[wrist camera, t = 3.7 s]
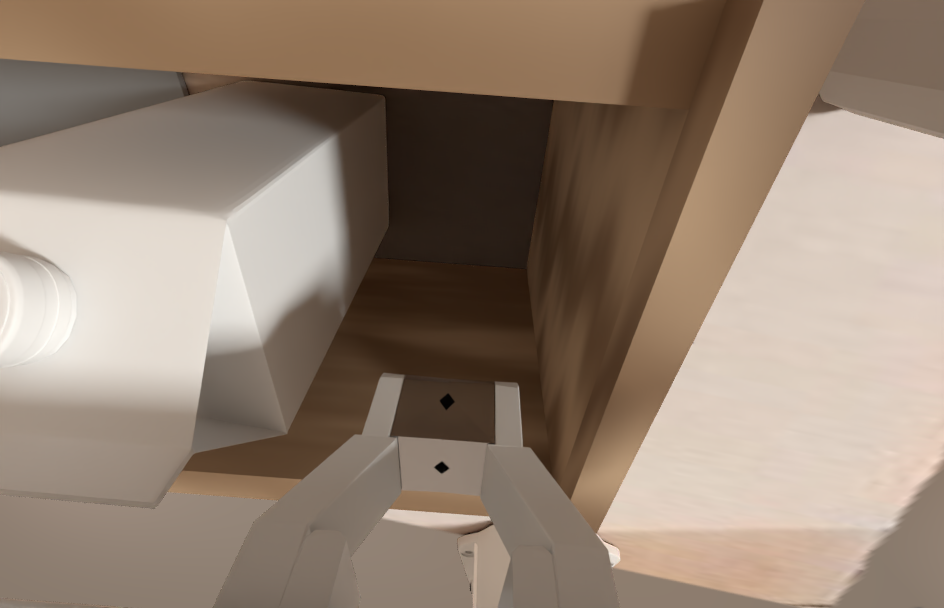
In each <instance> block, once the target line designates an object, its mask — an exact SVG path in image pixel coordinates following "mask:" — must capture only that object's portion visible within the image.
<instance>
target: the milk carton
mask: <svg viewBox="0 0 944 608" xmlns="http://www.w3.org/2000/svg"><path fill="white" fill-rule="evenodd" d="M388 227H389V205H388V174H387V143H386V112H385V97H384V96H382V95H378V94H370V93H361V92H352V91H342V90H333V89H324V88H315V87H305V86H296V85H287V84H278V83H268V82H259V81H240V82H237V83H233V84H229V85H226V86H222V87H218V88H215V89H211V90H207V91H204V92H200V93H196V94H193V95H189V96H185V97H182V98H178V99H174V100H171V101H167V102H163V103H160V104H156V105H152V106H149V107H145V108H141V109H138V110H134V111H130V112H127V113H123V114H119V115H116V116H112V117H108V118H105V119H101V120H97V121H94V122H90V123H86V124H83V125H79V126H75V127H72V128H68V129H64V130H61V131H57V132H53V133H50V134H46V135H42V136H39V137H35V138H31V139H28V140H24V141H20V142H17V143H13V144H9V145H5V146H2V147H0V495H7V496H18V497H29V498H40V499H51V500H62V501H73V502H84V503H95V504H107V505H118V506H129V507H140V508H151V509H155V507H157V506H158V505H159V503H160V502H161V501H162V499H163V498H164V496H165V495H166V493H167V492H168V490H169V489H170V487H171V486H172V484H173V483H174V482H175V480H176V479H177V477H178V476H179V474H180V473H181V471H182V470H183V468H184V467H185V465H186V464H187V462H188V461H189V459H190V458H191V457H192V455H193V454H195V453H198V452H203V451H208V450H213V449H218V448H222V447H227V446H232V445H237V444H242V443H247V442H252V441H256V440H261V439H266V438H271V437H276V436H281V435H285V434H287V432H288V430H289V428H290V426H291V424H292V422H293V420H294V418H295V416H296V414H297V412H298V410H299V408H300V405H301V403H302V401H303V399H304V397H305V395H306V393H307V391H308V389H309V387H310V385H311V383H312V381H313V379H314V377H315V375H316V373H317V371H318V369H319V367H320V365H321V363H322V361H323V359H324V357H325V355H326V353H327V351H328V349H329V347H330V345H331V343H332V341H333V339H334V336H335V334H336V332H337V330H338V328H339V326H340V324H341V322H342V320H343V318H344V316H345V314H346V312H347V310H348V308H349V306H350V304H351V302H352V300H353V298H354V296H355V294H356V292H357V290H358V288H359V286H360V284H361V282H362V280H363V278H364V276H365V274H366V272H367V270H368V267H369V265H370V263H371V261H372V259H373V257H374V255H375V253H376V251H377V249H378V247H379V245H380V243H381V241H382V239H383V237H384V235H385V233H386V231H387V229H388Z"/></svg>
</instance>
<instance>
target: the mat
mask: <svg viewBox="0 0 944 608" xmlns="http://www.w3.org/2000/svg"><path fill="white" fill-rule="evenodd" d="M185 96H189V94H188V91H187V88H186V85H185V81H184V78H183V75H182V72H174V71H160V70H147V69H134V68H120V67H107V66H93V65H80V64H67V63H53V62H40V61H27V60H13V59H0V147H2V146H5V145H9V144H13V143H17V142H20V141H24V140H28V139H31V138H35V137H39V136H42V135H46V134H50V133H53V132H57V131H61V130H64V129H68V128H72V127H75V126H79V125H83V124H86V123H90V122H94V121H97V120H101V119H105V118H108V117H112V116H116V115H119V114H123V113H127V112H130V111H134V110H138V109H141V108H145V107H149V106H152V105H156V104H160V103H163V102H167V101H171V100H174V99H178V98H182V97H185Z"/></svg>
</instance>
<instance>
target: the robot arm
mask: <svg viewBox="0 0 944 608" xmlns="http://www.w3.org/2000/svg"><path fill="white" fill-rule="evenodd" d="M401 490H407V491H428V492H445V493H455V494H464V495H474V496H480V499H481V501H482V503H483V505H484V507H485V509H486V511H487V512H488V514H489V516H490V518H491V520H492V522H493V524H494V525H492V526H490V527H488V528H486V529H484V530H483V531H480V532H478V533H473V534H468V535H464V536H461V537H459V538H458V539H457V546H458V552H459V555H460V557H461V561H462V563H463V566H464V569H465V572H466V575H467V578H468V581H469V584H470V591H471V594H473V608H620V604H619V600H618V596H617V590H616V586H615V581H614V576H613V572H612V567H614V566H615V565H616V564H617V563H618V562H619V561H620V553H619V549H618V548H616V547H614V546H612V545H610V544H608V543H606V542H604V541H603V540H602V539H601V538H600V537H599V536H598V535H597V533H595V532H594V531H593V529H592V528H591V527H590V525H589V524H588V523H587V522H586V520H585V519H584V518H583V516H582V515H581V514H580V512H579V511H578V510H577V508H576V507H575V506H574V504H573V503H572V502H571V501H570V499H569V498H568V497H567V495H566V494H565V493H564V491H563V490H562V489H561V487H560V486H559V485H558V483H557V482H556V481H555V480H554V478H553V477H552V476H551V474H550V473H549V472H548V470H547V469H546V468H545V466H544V465H543V464H542V462H541V461H540V460H539V459H538V457H537V456H536V455H535V453H534V452H533V451H532V449H531V448H529V447H523V438H522V424H521V409H520V395H519V386H518V384H517V383H512V382H497V381H495V382H494V381H483V380H467V379H452V378H450V379H446V378H436V377H426V376H416V375H402V374H392V373H383V374H382V375H381V377H380V379H379V382H378V385H377V388H376V391H375V394H374V398H373V401H372V404H371V407H370V410H369V414H368V417H367V420H366V423H365V426H364V429H363V433H362V435H356V434H355V435H353V436H352V437H351V438H350V439H349V440H348V441H347V442H345V443H344V444H343V445H342V446H341V447H340V448H338V449H337V450H336V451H335V452H334V453H333V454H332V455H330V456H329V457H328V458H327V459H326V460H325V461H323V462H322V463H321V464H320V465H319V466H318V467H316V468H315V469H314V470H313V471H312V472H311V473H310V474H308V475H307V476H306V477H305V478H304V479H303V480H301V481H300V482H299V483H298V484H297V485H296V486H295V487H293V488H292V489H291V490H290V491H289V492H288V493H286V494H285V495H284V496H283V497H282V498H281V499H279V500H278V501H277V502H276V503H275V504H274V505H273V506H271V507H270V508H269V509H268V510H267V511H266V512H264V513H263V514H262V515H261V516H260V517H259V518H258V519H256V520H255V521H254V522H253V524H252V527H251V528H250V530H249V533H248V535H247V537H246V539H245V541H244V543H243V545H242V547H241V549H240V552H239V554H238V556H237V558H236V560H235V562H234V564H233V566H232V568H231V570H230V572H229V575H228V576H227V579H226V581H225V583H224V585H223V587H222V589H221V591H220V594H219V595H218V597H217V599H216V602H215V604H214V606H213V608H359V604H360V599H361V596H360V592H359V588H358V584H357V580H356V576H355V572H354V568H353V564H352V560H351V556H352V555H353V554H354V552H355V551H356V550H357V549H358V547H359V546H360V545H361V543H362V542H363V541H364V540H365V538H366V537H367V536H368V535H369V533H370V532H371V531H372V529H373V528H374V527H375V526H376V524H377V523H378V522H379V521H380V519H381V518H382V517H383V516H384V514H385V513H386V512H387V510H388V509H389V508H390V507H391V505H392V504H393V503H394V502H395V500H396V499H397V498H398V497H399V495H400V494H401ZM0 608H128V607H114V606H101V605H88V604H75V603H62V602H47V601H35V600H34V601H33V600H22V599H8V598H0Z"/></svg>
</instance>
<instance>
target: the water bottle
mask: <svg viewBox="0 0 944 608" xmlns="http://www.w3.org/2000/svg"><path fill="white" fill-rule="evenodd" d="M819 94H820V97H821V99H822V101H824V102H826V103H829V104H831V105H834V106H837V107H839V108H842V109H844V110H847V111H849V112H852V113H854V114H857V115H861V116H865V117H868V118H872V119H875V120H879V121H882V122H886V123H889V124H893V125H897V126H900V127H904V128H907V129H911V130H914V131H918V132H921V133H925V134H929V135H932V136H936V137H939V138H943V139H944V0H865V2H864V4H863V6H862V8H861V10H860V12H859V14H858V16H857V18H856V20H855V22H854V24H853V26H852V28H851V30H850V32H849V34H848V36H847V38H846V40H845V42H844V44H843V46H842V48H841V50H840V52H839V54H838V56H837V58H836V60H835V62H834V64H833V66H832V68H831V70H830V72H829V74H828V76H827V78H826V80H825V82H824V84H823V86H822V88H821V90H820V92H819Z"/></svg>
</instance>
